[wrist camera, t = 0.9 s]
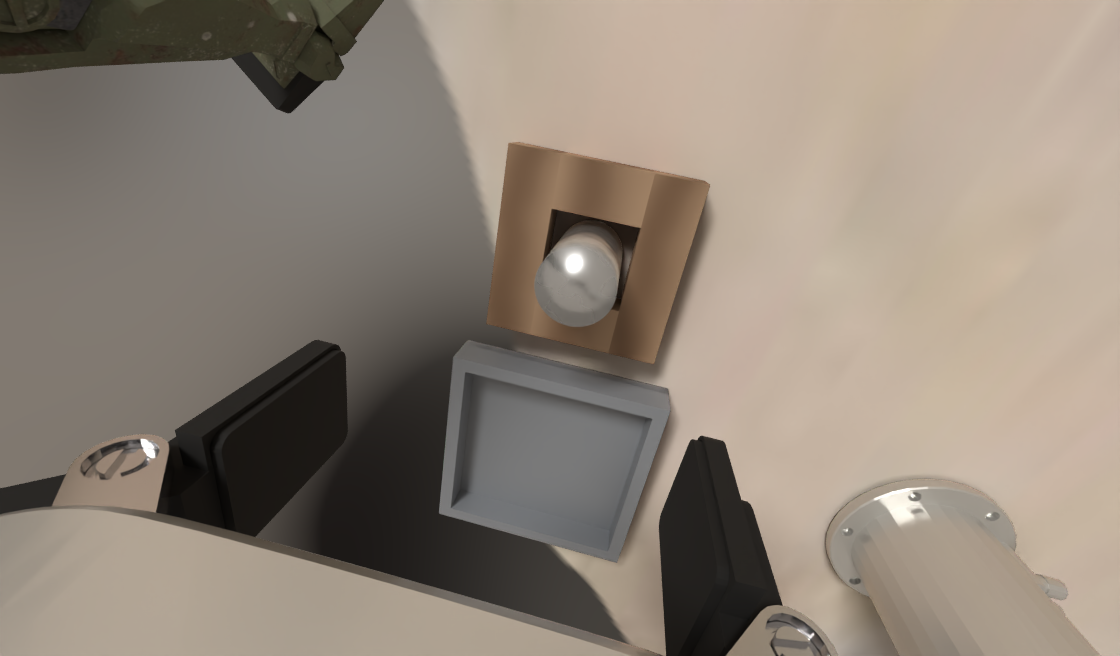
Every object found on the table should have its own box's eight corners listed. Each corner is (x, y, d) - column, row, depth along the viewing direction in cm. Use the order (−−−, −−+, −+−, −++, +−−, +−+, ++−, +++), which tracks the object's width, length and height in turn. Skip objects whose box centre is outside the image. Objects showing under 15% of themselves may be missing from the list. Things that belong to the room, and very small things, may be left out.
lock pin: (629, 227, 29) (626, 257, 22) (614, 288, 31) (606, 335, 24) (565, 213, 30) (541, 238, 22) (554, 275, 32) (528, 316, 24)
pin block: (704, 180, 28) (710, 185, 25) (652, 348, 33) (653, 364, 30) (519, 142, 28) (508, 142, 26) (496, 311, 33) (486, 323, 31)
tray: (668, 388, 34) (670, 410, 31) (618, 533, 40) (616, 562, 38) (467, 339, 35) (453, 356, 32) (452, 488, 42) (438, 513, 39)
